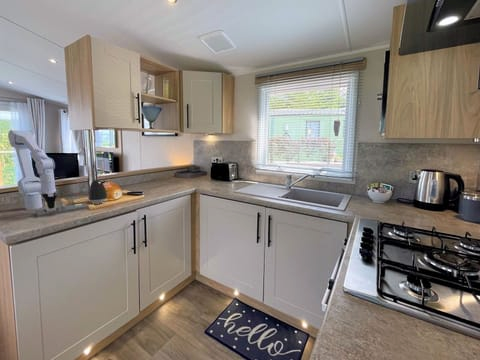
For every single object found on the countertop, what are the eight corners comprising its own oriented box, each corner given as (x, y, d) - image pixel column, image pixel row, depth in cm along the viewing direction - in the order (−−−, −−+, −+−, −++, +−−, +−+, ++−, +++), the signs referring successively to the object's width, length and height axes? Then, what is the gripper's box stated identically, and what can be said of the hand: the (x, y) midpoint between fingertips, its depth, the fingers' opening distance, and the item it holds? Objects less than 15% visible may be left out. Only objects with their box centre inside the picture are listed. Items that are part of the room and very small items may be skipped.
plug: (46, 211, 123) (45, 202, 122) (55, 209, 126) (54, 200, 125) (47, 213, 120) (45, 203, 119) (56, 211, 123) (55, 202, 122)
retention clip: (63, 204, 120) (63, 201, 120) (59, 201, 125) (58, 198, 125) (68, 203, 121) (68, 200, 121) (64, 200, 127) (63, 198, 127)
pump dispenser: (104, 205, 141) (102, 180, 139) (85, 205, 140) (83, 181, 137) (110, 201, 151) (108, 178, 149) (93, 201, 150) (91, 178, 147)
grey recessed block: (36, 214, 122) (34, 204, 121) (85, 206, 137) (84, 197, 136) (37, 219, 116) (36, 207, 115) (88, 210, 131) (87, 200, 130)
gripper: (36, 181, 123) (39, 205, 125) (38, 185, 112) (42, 212, 115) (53, 179, 127) (56, 203, 130) (57, 183, 117) (60, 209, 120)
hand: (50, 207), depth 123 cm, fingers closed on plug, 4 cm apart
